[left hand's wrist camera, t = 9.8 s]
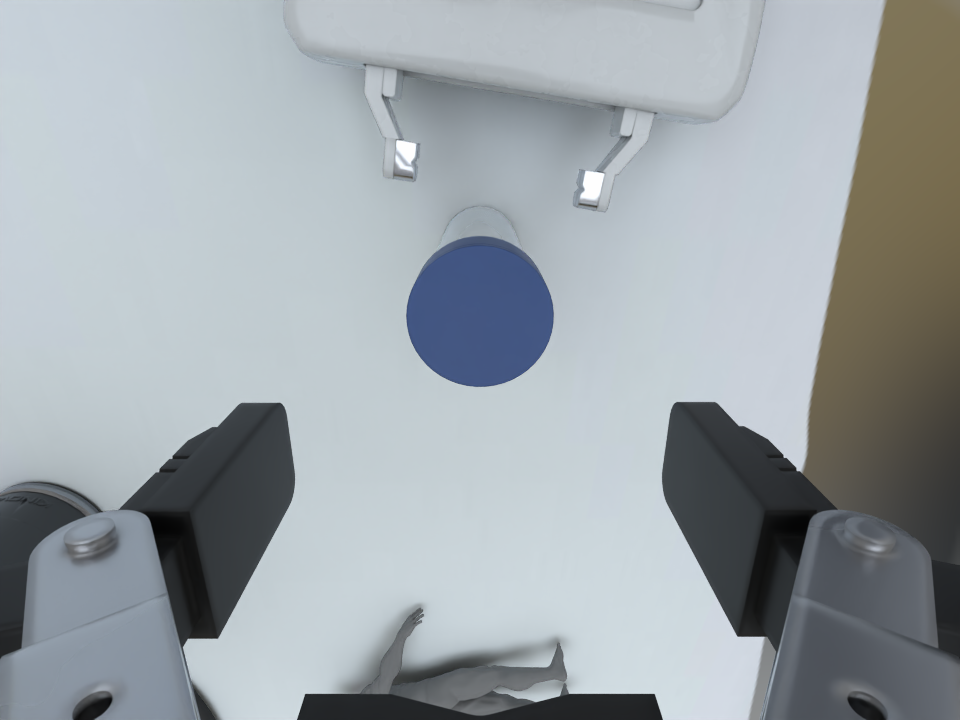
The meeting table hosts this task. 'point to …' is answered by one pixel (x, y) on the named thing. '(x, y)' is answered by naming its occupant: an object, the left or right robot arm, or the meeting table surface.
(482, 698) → the figurine
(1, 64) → the meeting table surface
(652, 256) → the meeting table surface
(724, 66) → the right robot arm
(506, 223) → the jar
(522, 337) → the lid
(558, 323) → the meeting table surface
